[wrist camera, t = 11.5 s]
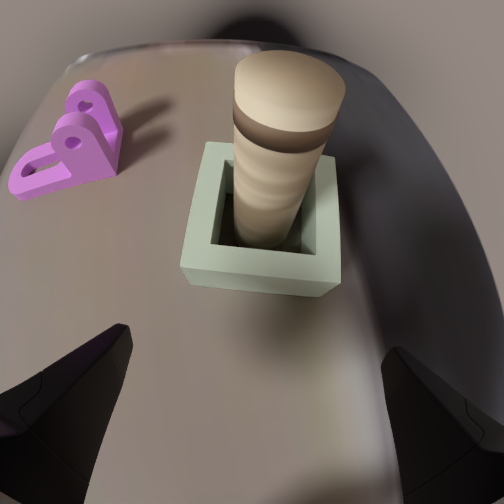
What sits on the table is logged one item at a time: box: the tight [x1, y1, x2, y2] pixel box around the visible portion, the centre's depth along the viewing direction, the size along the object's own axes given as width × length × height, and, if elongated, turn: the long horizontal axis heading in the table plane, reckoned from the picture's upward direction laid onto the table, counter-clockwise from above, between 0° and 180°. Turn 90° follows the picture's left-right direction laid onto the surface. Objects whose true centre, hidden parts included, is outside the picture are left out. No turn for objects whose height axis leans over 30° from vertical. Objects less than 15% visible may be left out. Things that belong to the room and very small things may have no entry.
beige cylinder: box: [233, 50, 346, 251], centre depth 13 cm, size 4×4×12 cm
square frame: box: [180, 142, 341, 297], centre depth 17 cm, size 8×8×4 cm
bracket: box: [8, 80, 124, 200], centre depth 17 cm, size 13×6×7 cm, turn 99°
